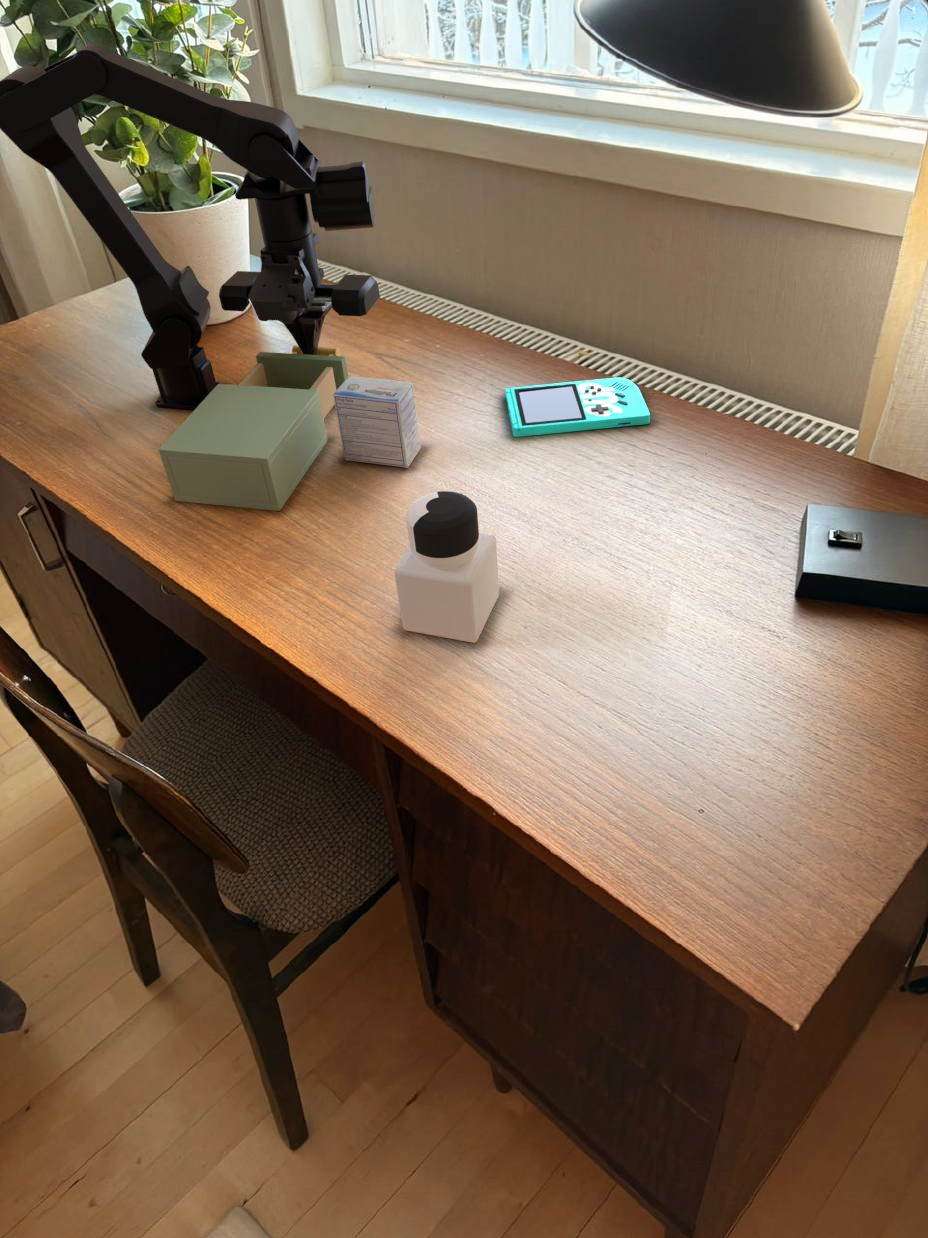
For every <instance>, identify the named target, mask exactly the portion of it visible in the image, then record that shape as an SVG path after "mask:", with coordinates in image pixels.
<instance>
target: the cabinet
mask: <svg viewBox="0 0 928 1238" xmlns="http://www.w3.org/2000/svg"><path fill="white" fill-rule="evenodd" d="M325 424H326V423H325V418H323V413H322V408H321V403H320V397H319V392H318V390H308V389H292V388H277V387H261V386H246V385H238V384H231V383H230V384H229V383H220V384H218V385H217V386H216V387H215V388H214V389H213V390H212V391H211V392H210V394H209V395H208V396H207V397H206V398H205V399H204V400H203V401H202V402H201V403H200V405H199V406H198V407H197V408H196V409H193V411H192V412H191V413H190V415H188V416H187V417H186V419H185V420H184V421H182V423H181V424H180V425H179V427H177V428H176V430H175V431H174V432H173V433H172V434H171V435H170V436H169V437H168V438H167V439H166V440H165V442H164V443H163V444H162V445H161V446H160V447H159V448H158V454H159V455H160V459H161V461H162V465H163V468H164V470H165V471H164V472H165V474H166V477H167V480H168V483H169V486H170V489H171V491H172V495H173V498H174V501H175V502H183V503H193V504H203V505H214V506H224V507H233V508H245V509H254V510H264V511H265V510H266V511H272V512H273V511H274V512H275V511H276V512H280V511H281V510H282V509H283V507H284V505H285V504H286V503H287V501H288V500H289V498H290V496H291V495H292V494H293V492H294V491H295V489H296V488H297V486H298V485H299V484H300V482H301V480H303V478H304V476H305V475H306V473H307V472H308V471H309V469H310V468H311V466H312V465H313V463H314V461H315V460H316V458H317V457H318V455H319V454H320V453H321V452H322V450H323V448H324V447H325V446H326V444H327V442H328V441H329V440H328V434H327V428H326V425H325Z"/></svg>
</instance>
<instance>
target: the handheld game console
mask: <svg viewBox="0 0 928 1238" xmlns="http://www.w3.org/2000/svg"><path fill="white" fill-rule="evenodd" d="M504 394H505V402H506V407H507V412H508V416H509V420H510V421H509V422H510V426H511V430H512V431H511V432H512V435H513V437H514V438H515V437H516V438H519V437H529V436H539V435H540V436H541V435H550V434H559V433H570V432H580V431H581V432H582V431H590V430H601V429H610V428H621V427H631V426H641V425H648V424H650V422H651V413H650V410H649V408H648V406H647V403H646V401H645V398H644V397H643V394H642V392H641V390H640V388H639V387H638V385H637V384H636V383H634V381H632V380H630V379H629V378H625V377H620V376H619V377H618V376H617V377H607V378H596V379H588V380H577V381H576V380H575V381H566V382H556V383H547V384H545V383H544V384H535V385H526V386H515V387H507V388H505V393H504Z"/></svg>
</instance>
